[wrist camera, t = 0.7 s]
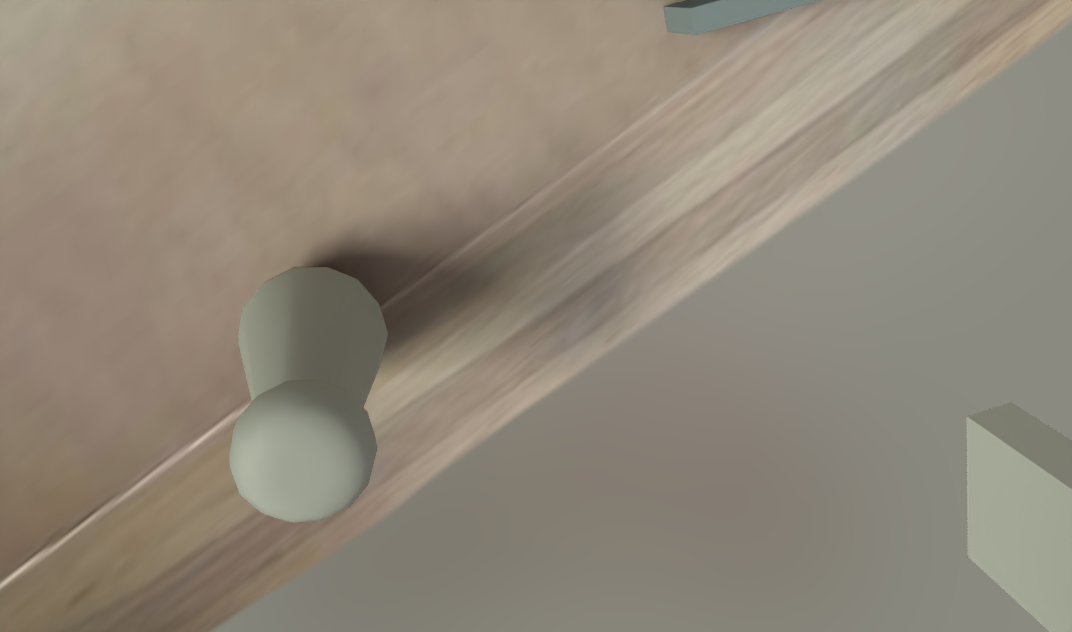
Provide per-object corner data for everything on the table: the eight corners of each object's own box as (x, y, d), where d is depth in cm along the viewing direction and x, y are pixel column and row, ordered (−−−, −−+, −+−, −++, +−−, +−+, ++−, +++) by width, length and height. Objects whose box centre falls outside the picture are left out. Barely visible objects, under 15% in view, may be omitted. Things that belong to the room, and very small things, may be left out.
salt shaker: (257, 238, 35) (214, 365, 23) (396, 264, 37) (421, 396, 25) (235, 367, 37) (184, 546, 25) (369, 386, 39) (380, 564, 27)
